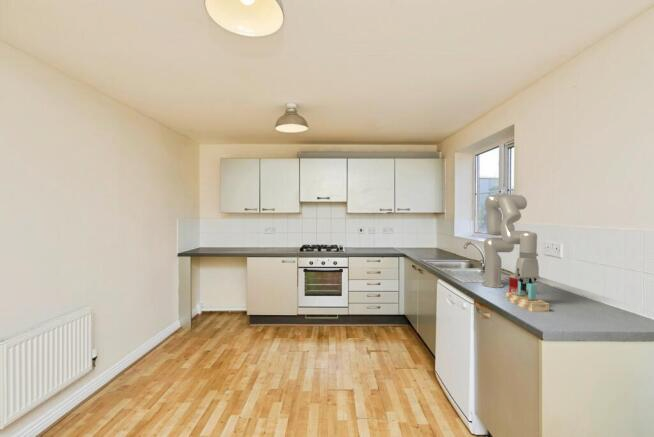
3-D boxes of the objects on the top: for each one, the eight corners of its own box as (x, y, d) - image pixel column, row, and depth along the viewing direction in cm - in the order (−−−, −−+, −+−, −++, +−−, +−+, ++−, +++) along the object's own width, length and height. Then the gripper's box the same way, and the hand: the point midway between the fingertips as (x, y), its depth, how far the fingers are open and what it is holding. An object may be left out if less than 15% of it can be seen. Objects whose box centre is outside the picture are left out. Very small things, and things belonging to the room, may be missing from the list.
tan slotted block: (505, 299, 175) (506, 292, 174) (521, 299, 175) (521, 292, 175) (531, 311, 155) (532, 303, 154) (549, 311, 155) (549, 303, 155)
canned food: (527, 296, 181) (527, 277, 180) (511, 295, 183) (512, 277, 182) (521, 293, 188) (522, 275, 188) (507, 292, 190) (507, 274, 190)
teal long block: (517, 293, 170) (518, 280, 169) (522, 293, 170) (522, 280, 169) (530, 298, 160) (531, 285, 159) (536, 298, 160) (536, 285, 159)
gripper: (537, 254, 168) (536, 288, 169) (508, 254, 167) (507, 288, 168) (548, 256, 161) (546, 292, 161) (517, 257, 160) (516, 292, 160)
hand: (526, 290), depth 165 cm, fingers closed on teal long block, 2 cm apart
